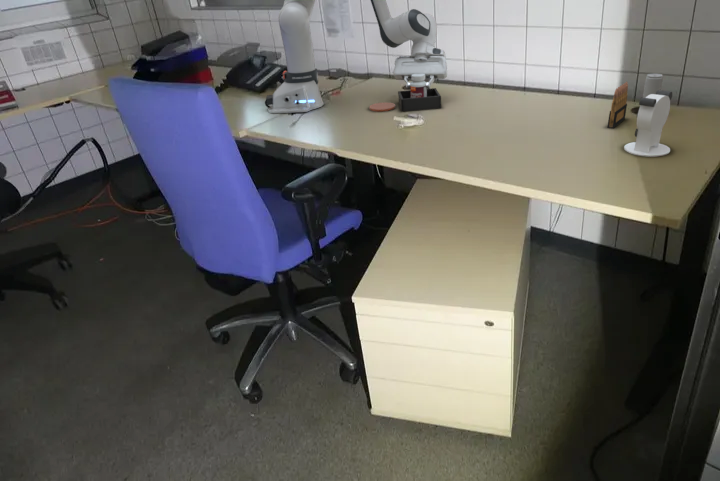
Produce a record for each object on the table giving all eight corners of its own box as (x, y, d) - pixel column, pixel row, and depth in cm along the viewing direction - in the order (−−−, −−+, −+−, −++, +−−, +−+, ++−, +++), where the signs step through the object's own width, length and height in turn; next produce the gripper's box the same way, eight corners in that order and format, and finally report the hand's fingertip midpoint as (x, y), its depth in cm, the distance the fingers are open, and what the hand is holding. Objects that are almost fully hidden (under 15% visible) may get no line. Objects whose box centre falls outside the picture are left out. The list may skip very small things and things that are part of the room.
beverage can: (641, 114, 177) (648, 77, 172) (638, 110, 181) (645, 73, 176) (658, 114, 176) (665, 76, 170) (654, 110, 180) (661, 73, 175)
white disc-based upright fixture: (636, 139, 158) (645, 87, 151) (678, 147, 150) (689, 92, 143) (616, 150, 152) (624, 96, 144) (658, 159, 144) (669, 102, 137)
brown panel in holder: (618, 118, 176) (624, 80, 170) (624, 119, 175) (630, 81, 169) (607, 127, 169) (612, 88, 163) (613, 128, 168) (619, 89, 162)
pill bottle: (408, 107, 207) (407, 76, 201) (413, 102, 212) (412, 72, 206) (424, 107, 205) (424, 76, 199) (428, 103, 210) (428, 72, 204)
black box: (401, 111, 203) (401, 99, 201) (398, 102, 214) (398, 91, 212) (441, 108, 203) (440, 96, 200) (435, 99, 214) (435, 88, 212)
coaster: (370, 112, 205) (369, 110, 205) (368, 105, 214) (368, 103, 213) (396, 110, 205) (396, 108, 204) (394, 103, 214) (394, 101, 213)
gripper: (394, 51, 208) (389, 83, 205) (448, 49, 202) (444, 83, 199) (397, 61, 214) (392, 92, 210) (449, 59, 208) (446, 92, 205)
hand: (418, 88), depth 205 cm, fingers closed on pill bottle, 6 cm apart
